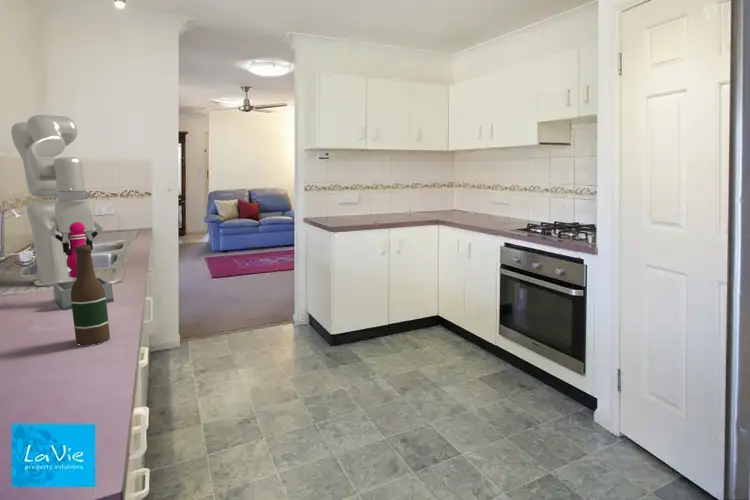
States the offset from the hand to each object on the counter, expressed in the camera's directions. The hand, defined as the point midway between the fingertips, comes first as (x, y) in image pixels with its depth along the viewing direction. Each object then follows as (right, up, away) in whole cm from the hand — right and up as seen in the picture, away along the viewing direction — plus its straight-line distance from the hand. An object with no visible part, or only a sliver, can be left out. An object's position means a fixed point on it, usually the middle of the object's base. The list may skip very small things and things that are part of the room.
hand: (78, 253), depth 153 cm
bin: (0, -16, +3) cm, 16 cm away
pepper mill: (0, -8, +1) cm, 8 cm away
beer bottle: (+25, -22, -35) cm, 48 cm away
